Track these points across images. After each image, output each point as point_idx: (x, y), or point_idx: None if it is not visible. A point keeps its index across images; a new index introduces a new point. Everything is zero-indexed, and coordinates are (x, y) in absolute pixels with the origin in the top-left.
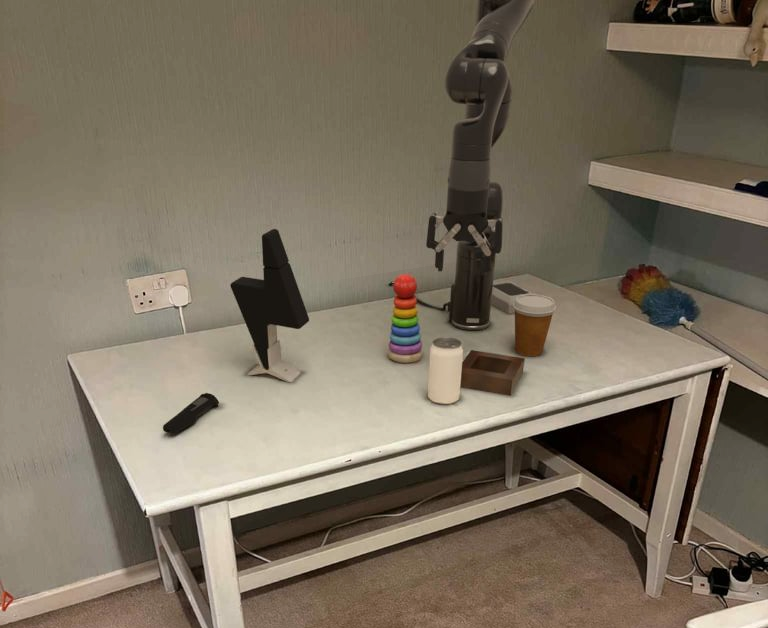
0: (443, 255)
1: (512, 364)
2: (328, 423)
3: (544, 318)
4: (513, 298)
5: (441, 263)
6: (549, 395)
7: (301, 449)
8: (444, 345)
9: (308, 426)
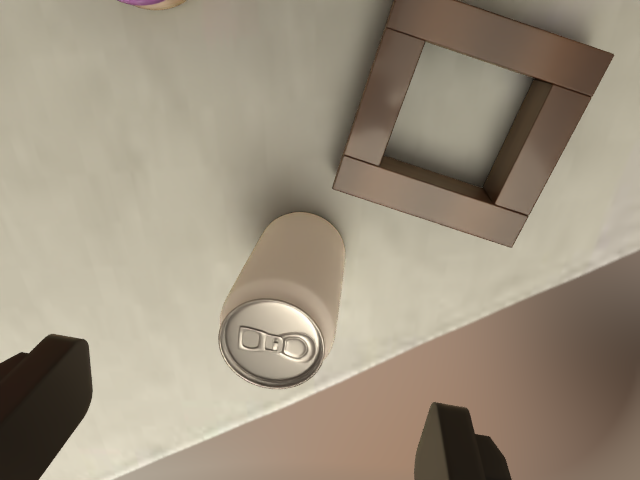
0: (6, 435)
1: (544, 123)
2: None
3: None
4: None
5: (47, 462)
6: (623, 220)
7: None
8: (263, 353)
9: None
